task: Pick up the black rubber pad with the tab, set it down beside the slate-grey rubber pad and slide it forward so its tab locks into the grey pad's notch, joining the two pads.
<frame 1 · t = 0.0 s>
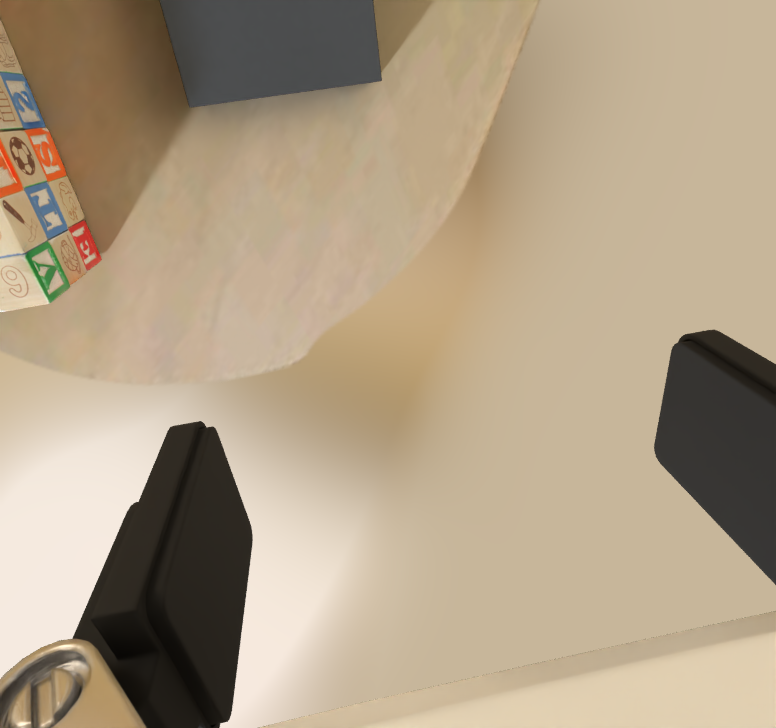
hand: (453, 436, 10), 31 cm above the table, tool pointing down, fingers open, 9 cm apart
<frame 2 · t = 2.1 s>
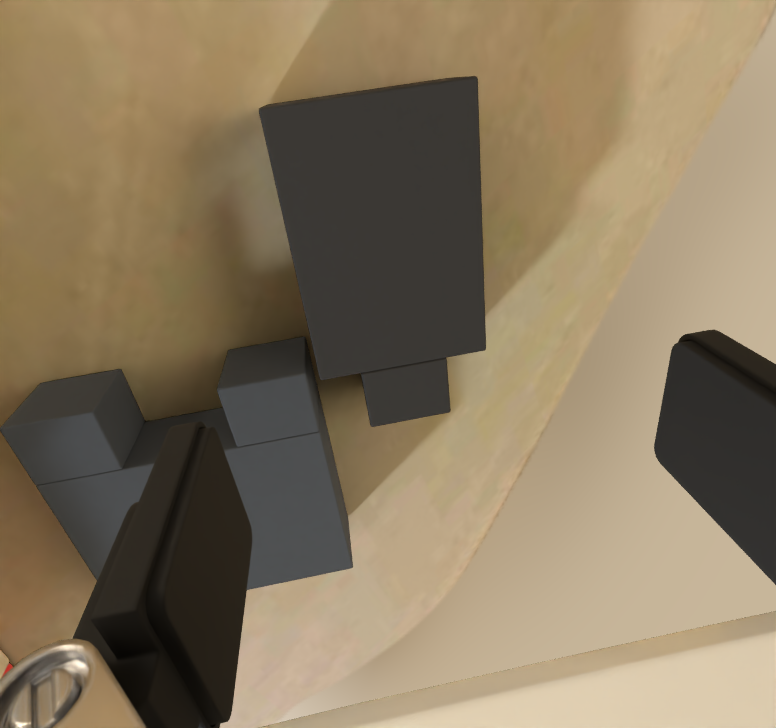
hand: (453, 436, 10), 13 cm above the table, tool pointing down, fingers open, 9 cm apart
grey pad: (214, 459, 26), on the table
black pad: (377, 224, 21), on the table
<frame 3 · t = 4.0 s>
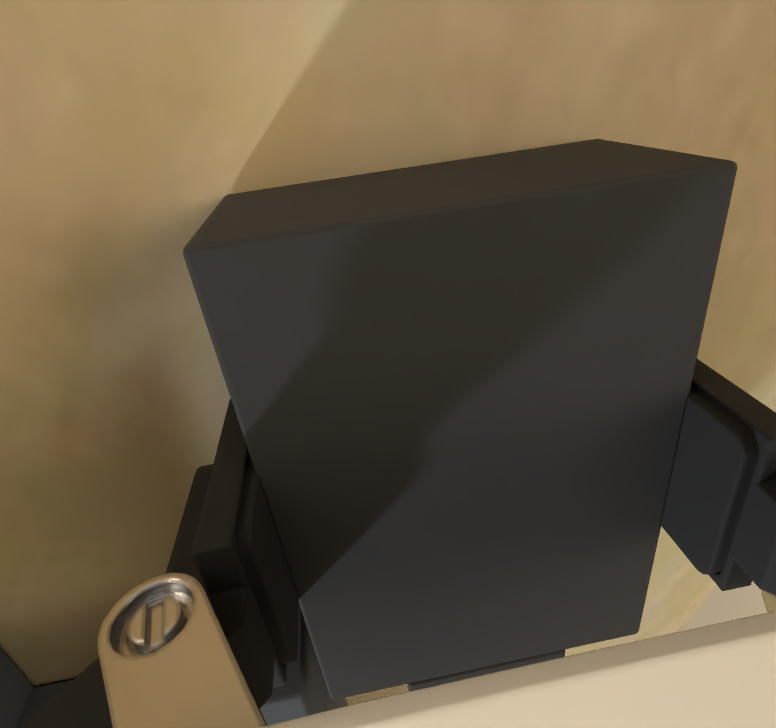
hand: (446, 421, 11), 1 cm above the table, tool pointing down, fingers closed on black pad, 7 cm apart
grey pad: (156, 720, 16), on the table
black pad: (436, 394, 12), on the table, touching gripper
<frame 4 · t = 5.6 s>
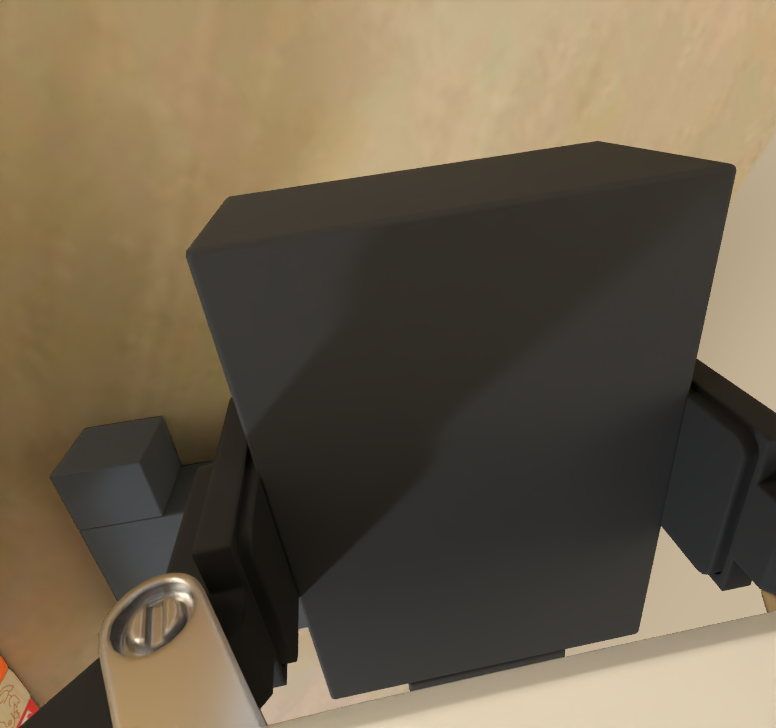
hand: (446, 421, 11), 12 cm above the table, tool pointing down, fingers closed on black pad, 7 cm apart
grey pad: (245, 502, 26), on the table
black pad: (436, 395, 12), point 11 cm above the table, touching gripper
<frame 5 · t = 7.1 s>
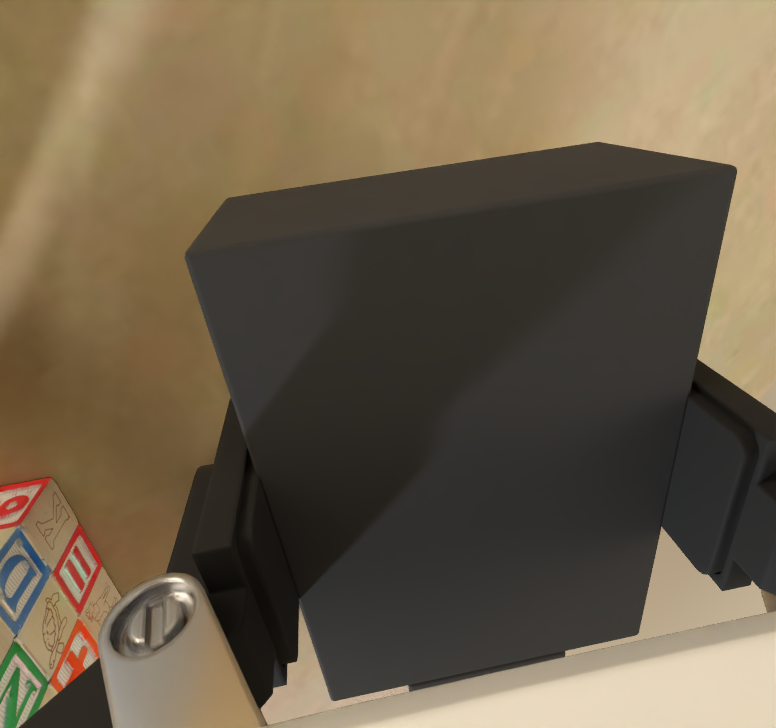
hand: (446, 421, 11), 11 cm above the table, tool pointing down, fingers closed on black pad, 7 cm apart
stack of blocks: (83, 623, 28), on the table
black pad: (436, 396, 12), point 10 cm above the table, touching gripper
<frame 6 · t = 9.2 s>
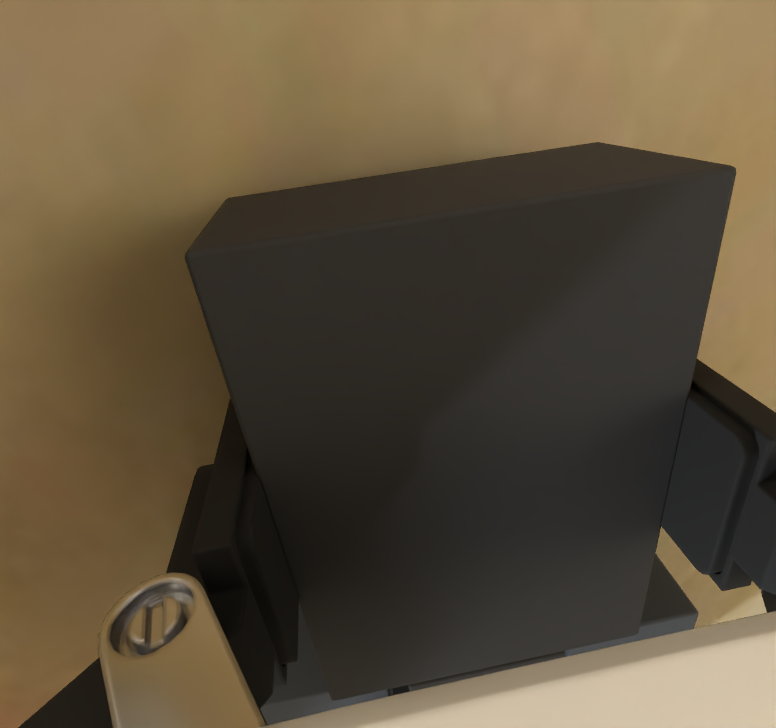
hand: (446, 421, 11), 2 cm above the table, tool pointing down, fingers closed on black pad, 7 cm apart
grey pad: (455, 655, 19), on the table
black pad: (436, 396, 12), point 1 cm above the table, touching gripper
when the fingers open (1 cm above the table, at t = 10.5 s): black pad stays where it is, on the table.
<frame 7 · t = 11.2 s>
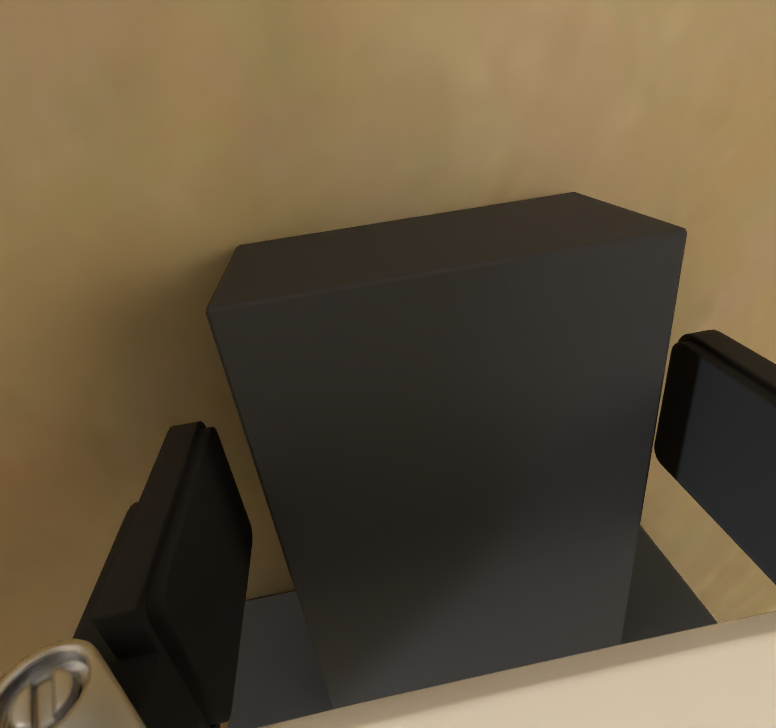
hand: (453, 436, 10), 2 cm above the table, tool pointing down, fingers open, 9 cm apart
grey pad: (457, 675, 18), on the table
black pad: (430, 420, 12), on the table
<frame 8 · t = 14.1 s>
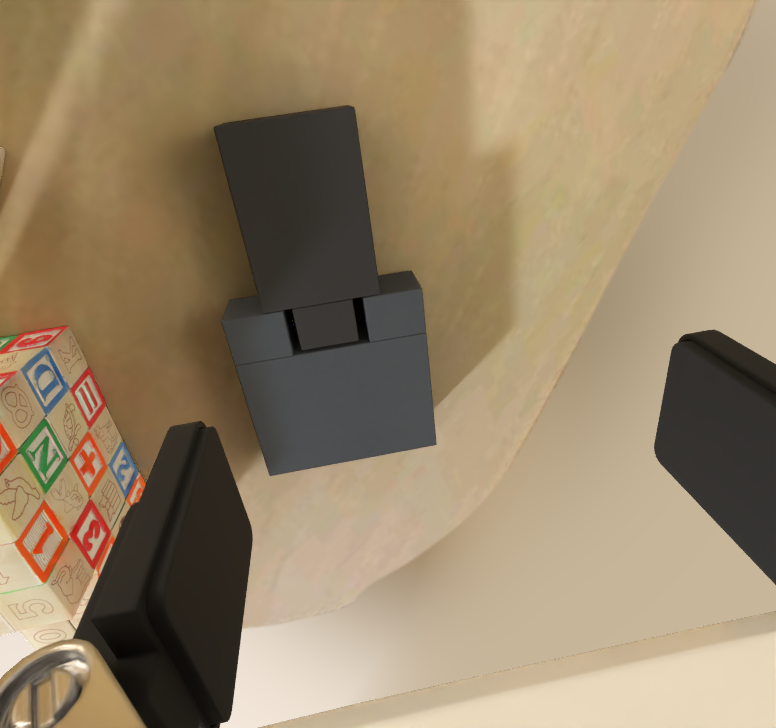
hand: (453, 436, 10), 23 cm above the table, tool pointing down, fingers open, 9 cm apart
grey pad: (337, 364, 35), on the table
stack of blocks: (91, 460, 37), on the table
black pad: (305, 206, 30), on the table
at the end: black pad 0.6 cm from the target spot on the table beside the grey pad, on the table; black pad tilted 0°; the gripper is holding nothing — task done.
